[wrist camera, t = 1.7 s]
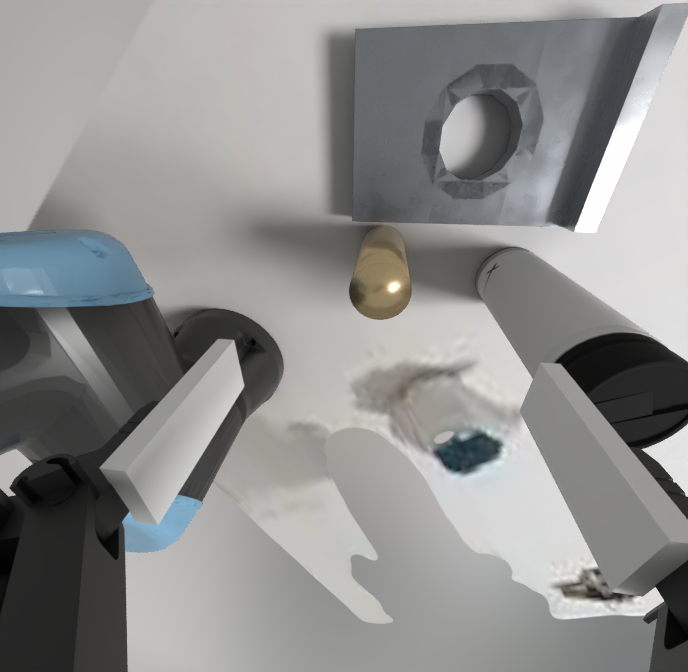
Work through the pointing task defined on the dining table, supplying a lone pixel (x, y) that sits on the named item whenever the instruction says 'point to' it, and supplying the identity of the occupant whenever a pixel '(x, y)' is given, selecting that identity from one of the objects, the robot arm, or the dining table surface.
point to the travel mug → (587, 345)
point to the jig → (523, 109)
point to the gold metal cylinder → (381, 275)
